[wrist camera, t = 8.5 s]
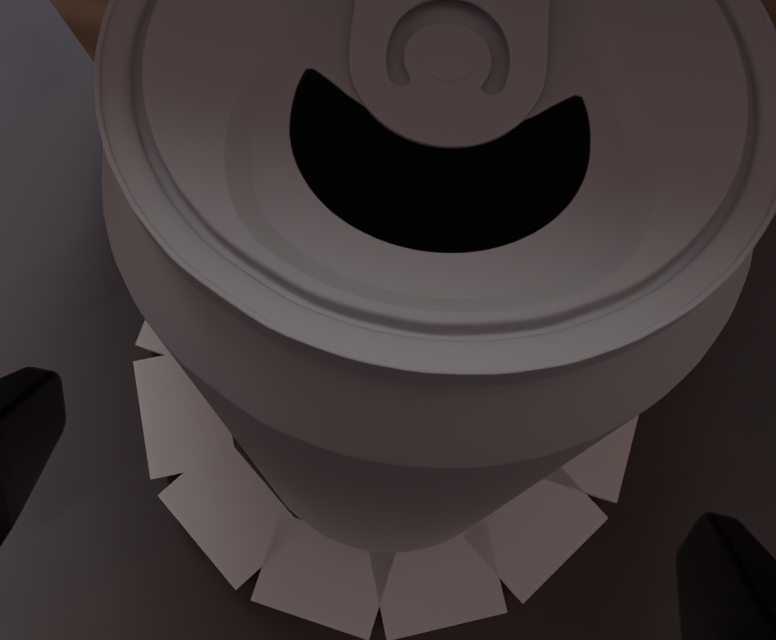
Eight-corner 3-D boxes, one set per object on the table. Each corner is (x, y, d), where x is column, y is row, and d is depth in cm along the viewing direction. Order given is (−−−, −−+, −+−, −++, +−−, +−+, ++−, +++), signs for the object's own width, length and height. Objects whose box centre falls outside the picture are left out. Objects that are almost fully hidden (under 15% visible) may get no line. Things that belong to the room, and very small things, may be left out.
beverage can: (235, 540, 15) (-101, 379, 4) (279, 285, 18) (146, -243, 7) (515, 568, 15) (942, 486, 4) (520, 310, 18) (792, -179, 7)
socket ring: (676, 558, 17) (699, 566, 15) (195, 671, 16) (181, 690, 15) (554, 118, 19) (567, 96, 17) (123, 199, 18) (106, 182, 17)
